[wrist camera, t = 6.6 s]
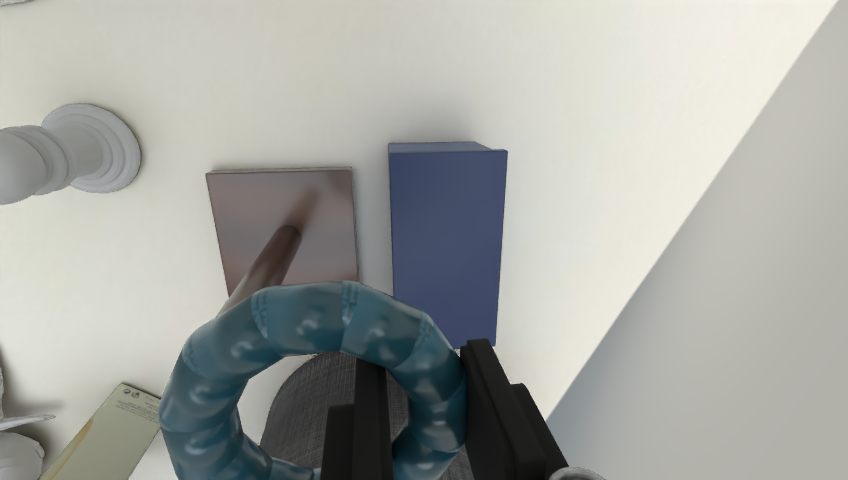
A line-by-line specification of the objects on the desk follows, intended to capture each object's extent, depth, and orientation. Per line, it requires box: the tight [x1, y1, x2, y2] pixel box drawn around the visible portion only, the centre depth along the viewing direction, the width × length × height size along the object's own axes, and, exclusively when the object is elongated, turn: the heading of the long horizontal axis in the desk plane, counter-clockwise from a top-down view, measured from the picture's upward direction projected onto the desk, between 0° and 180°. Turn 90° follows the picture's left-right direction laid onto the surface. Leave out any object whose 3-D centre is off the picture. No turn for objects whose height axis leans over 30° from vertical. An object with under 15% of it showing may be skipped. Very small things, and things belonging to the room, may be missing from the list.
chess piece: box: [0, 104, 141, 205], centre depth 21 cm, size 5×5×9 cm
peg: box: [206, 167, 359, 317], centre depth 22 cm, size 9×9×13 cm
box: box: [388, 142, 508, 349], centre depth 26 cm, size 12×6×6 cm, turn 0°
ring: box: [158, 280, 468, 480], centre depth 10 cm, size 7×7×2 cm
